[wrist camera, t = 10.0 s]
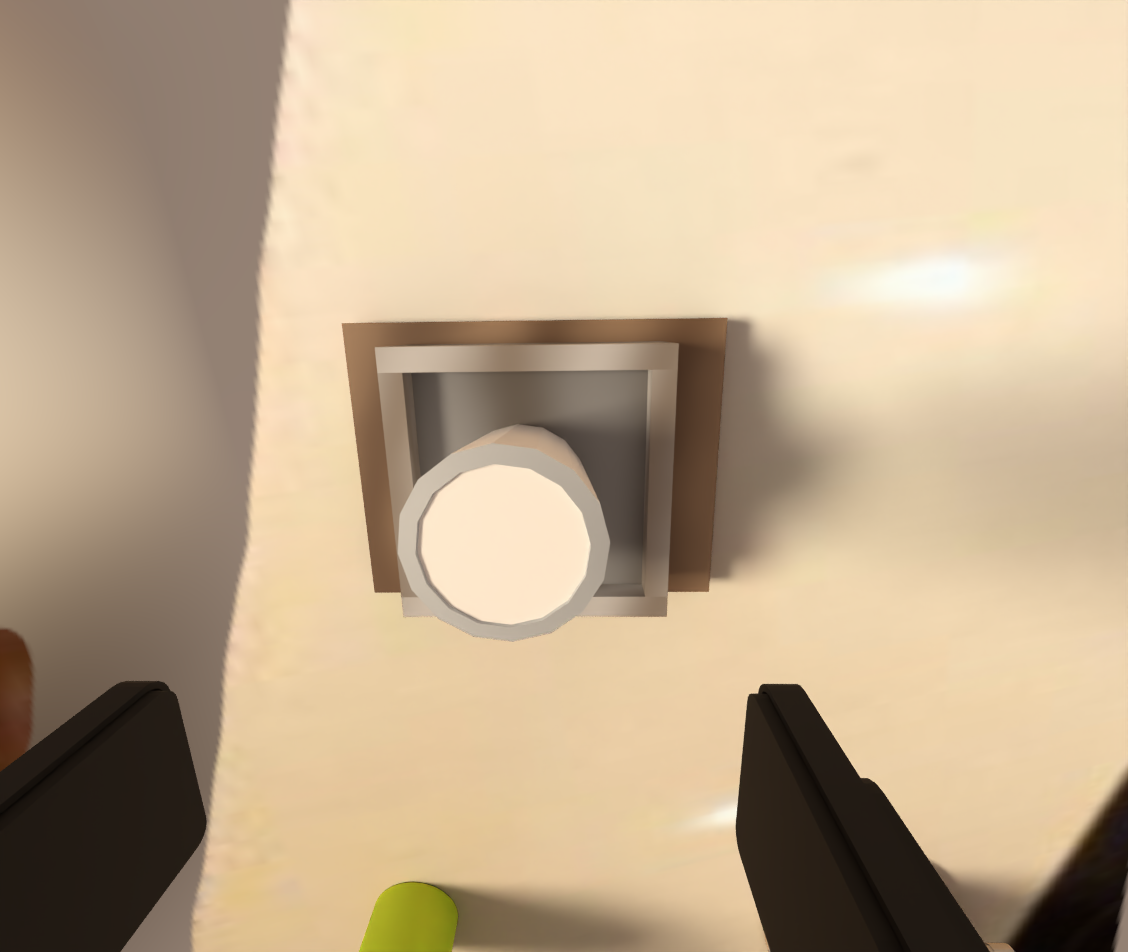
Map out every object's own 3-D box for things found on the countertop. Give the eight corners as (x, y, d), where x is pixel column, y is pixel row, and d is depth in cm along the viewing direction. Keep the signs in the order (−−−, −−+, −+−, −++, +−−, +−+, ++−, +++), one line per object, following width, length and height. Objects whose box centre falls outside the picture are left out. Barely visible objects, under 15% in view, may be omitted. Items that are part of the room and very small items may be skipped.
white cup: (596, 404, 22) (605, 437, 16) (603, 552, 24) (614, 639, 17) (437, 414, 23) (379, 450, 16) (456, 560, 24) (411, 648, 18)
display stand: (718, 318, 26) (758, 315, 20) (701, 578, 29) (731, 635, 24) (354, 323, 26) (295, 322, 20) (384, 579, 30) (341, 636, 24)
